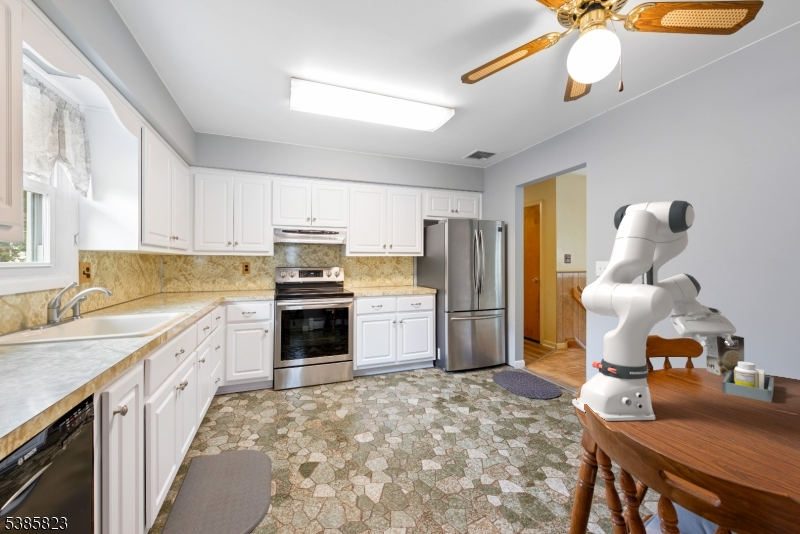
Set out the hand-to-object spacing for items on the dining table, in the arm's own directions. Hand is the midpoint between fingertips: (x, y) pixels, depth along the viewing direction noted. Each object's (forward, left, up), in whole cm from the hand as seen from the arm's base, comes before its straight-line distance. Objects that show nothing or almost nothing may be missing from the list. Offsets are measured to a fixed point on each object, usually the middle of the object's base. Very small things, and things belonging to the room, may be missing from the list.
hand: (718, 345), depth 118 cm
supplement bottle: (-2, -9, -14) cm, 17 cm away
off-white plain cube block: (+7, -5, -14) cm, 16 cm away
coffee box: (+16, +8, -15) cm, 23 cm away
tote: (+3, -7, -15) cm, 17 cm away
